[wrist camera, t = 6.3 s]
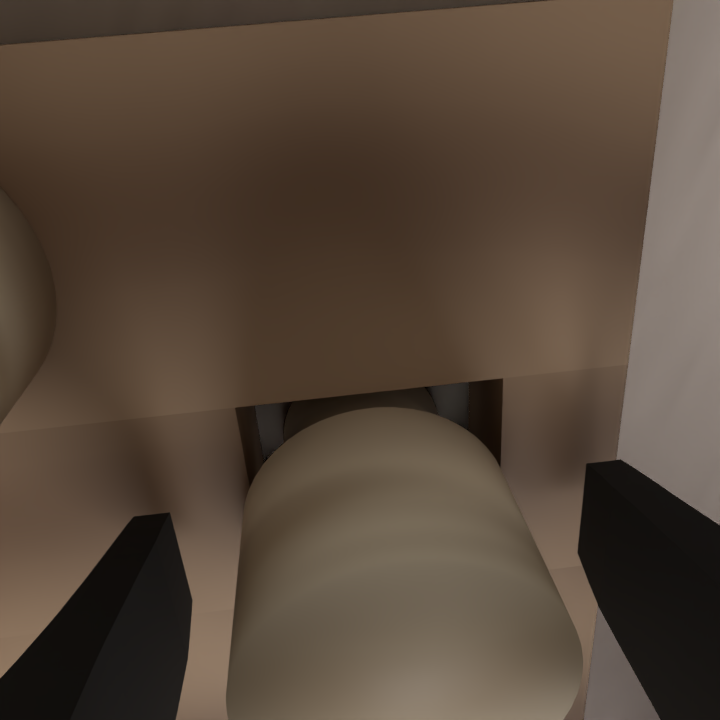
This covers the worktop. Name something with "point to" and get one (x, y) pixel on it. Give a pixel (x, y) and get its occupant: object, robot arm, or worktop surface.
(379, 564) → the peg
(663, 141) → the worktop surface
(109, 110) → the board
